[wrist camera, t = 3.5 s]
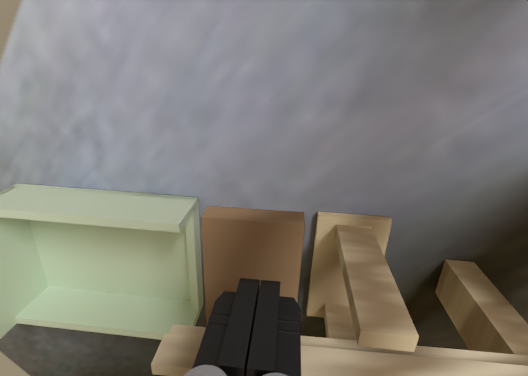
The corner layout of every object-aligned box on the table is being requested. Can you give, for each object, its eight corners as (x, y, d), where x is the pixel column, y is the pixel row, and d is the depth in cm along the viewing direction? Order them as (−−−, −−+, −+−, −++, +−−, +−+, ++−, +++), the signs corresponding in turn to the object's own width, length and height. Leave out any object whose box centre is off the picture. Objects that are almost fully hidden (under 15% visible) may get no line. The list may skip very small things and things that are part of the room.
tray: (17, 183, 24) (-68, 221, 18) (198, 197, 23) (166, 241, 17) (48, 287, 28) (-15, 344, 22) (203, 303, 26) (179, 367, 21)
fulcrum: (487, 224, 21) (628, 347, 12) (451, 325, 25) (538, 477, 16) (317, 211, 22) (331, 316, 13) (306, 310, 26) (311, 446, 17)
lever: (669, 236, 12) (805, 300, 9) (552, 421, 16) (615, 507, 13) (160, 203, 13) (119, 248, 10) (179, 384, 17) (155, 455, 14)
